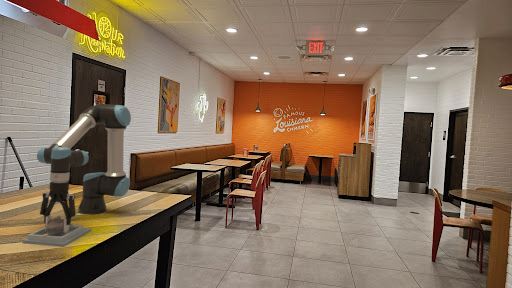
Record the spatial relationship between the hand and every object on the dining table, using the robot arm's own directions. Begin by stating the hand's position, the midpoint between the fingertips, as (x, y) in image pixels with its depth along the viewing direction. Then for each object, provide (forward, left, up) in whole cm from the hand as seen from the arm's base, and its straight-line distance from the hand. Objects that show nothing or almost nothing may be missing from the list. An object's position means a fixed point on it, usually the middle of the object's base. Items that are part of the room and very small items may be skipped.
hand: (57, 230), depth 147 cm
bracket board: (-2, 0, -3) cm, 4 cm away
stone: (-1, -1, 0) cm, 1 cm away
